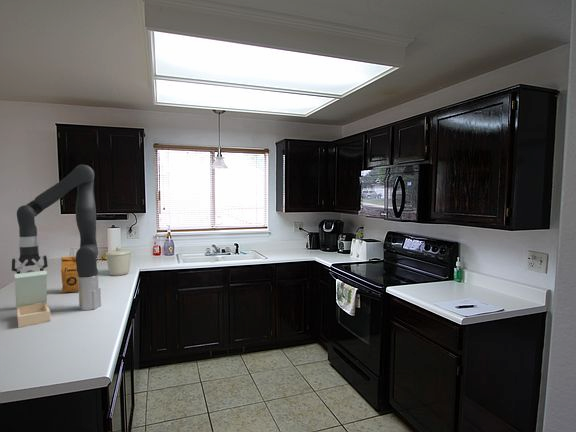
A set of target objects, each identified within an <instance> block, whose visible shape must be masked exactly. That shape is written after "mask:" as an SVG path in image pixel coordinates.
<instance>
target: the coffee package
mask: <svg viewBox="0 0 576 432" xmlns="http://www.w3.org/2000/svg"><path fill="white" fill-rule="evenodd" d="M60 259H61V260H60V261H61V267H60V268H61V270H60V272H61V284H62V286H61V287H62V288H61V292H62V293H66V294H67V293H79V288H78V273H77V266H76V256H61V258H60Z"/></svg>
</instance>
